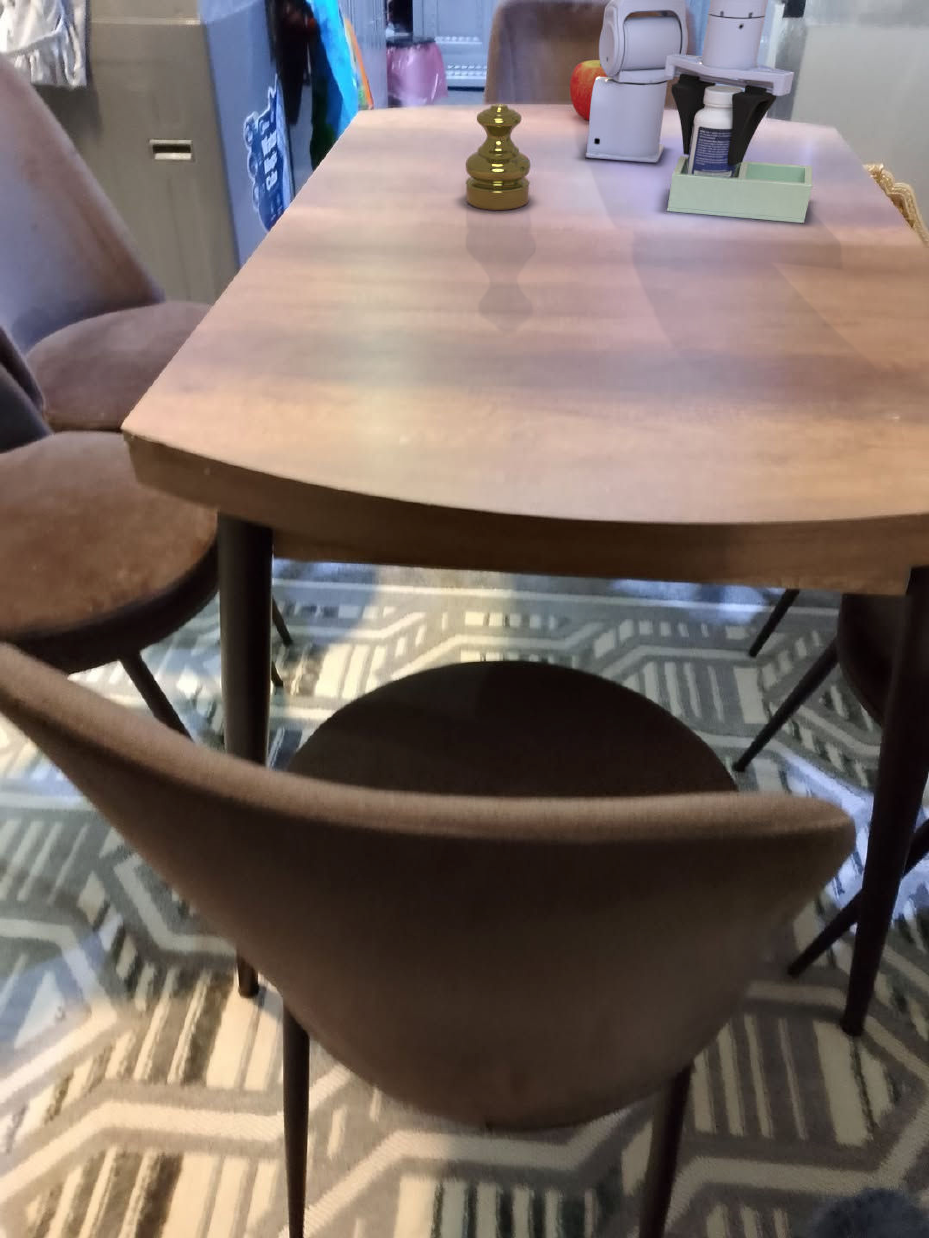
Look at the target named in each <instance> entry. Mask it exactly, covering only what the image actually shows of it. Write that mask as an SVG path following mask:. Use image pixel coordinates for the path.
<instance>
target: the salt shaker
mask: <svg viewBox="0 0 929 1238" xmlns="http://www.w3.org/2000/svg"><path fill="white" fill-rule="evenodd" d="M476 122H477V123H478V124H479V125H480V126H481V128H483V130H484V131H485V134H486V139H485V140H484V142H483V143H482V144H481V145H480V146H479V147H478V148H477V151H475V152H473V153H472V154H470V155H469V157H467V159H466V161H465V170H466V171H465V172H466V173H467V174H468V176H470V177H468V178H467V179H466V180H465V187H466V188H465V189H466V190H465V196H466V197H465V200H466V201H467V203H468V204H469V205H471V206H472V207H475V208H478V209H482V210H488V211H508V210H513V209H517V208H521V207H523V206H524V205H526V204H527V203H528V201H529V196H530V195H529V194H530V193H529V192H530V190H529V189H530V184H531V182H530V181H529V179H528V178H526V177H527V176H528V174H529V173H530V171H531V161H530V159H529V158H528V156H526V155H525V154H524V153H522V152H521V151H520V149H519V147H518V146H516V144H515V143H514V142H513V141H512V139H511V135H512V132H513V131H514V129H515V128H516V127H517V126H518V125H519V124H521V122H522V115H521V113H520V112H517V111H516V110H515V109H513V108H510V107H509V106H508V105H507V104H506V103H493V104H492V105H491V106H490V107H488V108H485V109H483V110H482V111H480V112H479V113H478V114H476Z"/></svg>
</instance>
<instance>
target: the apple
mask: <svg viewBox="0 0 929 1238" xmlns="http://www.w3.org/2000/svg"><path fill="white" fill-rule="evenodd" d="M597 77H608V76H606V74H605V72H604V70H603V69H602V67H601V64H600V59H597V60H596V59H593V60H586V61H582V62H580V63H579V64H577V65H576V66H575V67H574V69H573V71H572V73H571V78H570V84H569V95H570V99H571V104H572V106H573V108H574V110H575V112H576V114H577V115H578V116H579V117H580V118H582V119H583V120H586V121H589V119H590V107H591V98H592V91H593V86H594V82H595V80H596V78H597Z"/></svg>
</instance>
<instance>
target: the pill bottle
mask: <svg viewBox="0 0 929 1238" xmlns="http://www.w3.org/2000/svg"><path fill="white" fill-rule="evenodd" d="M739 92H744V90H743V88H740V87H734V86H729V85H715V86H710V87H707V88H706V89H705V94H704V99H703V100H704V101H703V103H704V104H705V107H704V109H701V110H699V111H698V112H697V113H696V115H695V118H694V123H693V130H692V136H691V143H690V149H689V155H687V157H688V163H687V169H686V174H696V175H709V176H722V177H734V174H735V169H736V165H729V164H727V162H728V151H729V145H730V140H731V134H732V121H733V107H732V95H733V94H735V93H739Z"/></svg>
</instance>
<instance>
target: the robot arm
mask: <svg viewBox="0 0 929 1238" xmlns="http://www.w3.org/2000/svg"><path fill="white" fill-rule="evenodd" d="M768 2H769V0H709V7H708V13H707V21H706V26H705V27H706V28H705V34H704V40H703V47H702V53H701V55H690V54H687V52H688V46H689V45H688V44H689V31H688V28H687V27H688V26H687V3H686V1H685V0H609V2H608V3H607V4H606V6H605V7H604V12H603V22H602V26H601V27H602V28H601V32H600V36H599V41H598V43H599V44H598V57H599V60H600V64H601V67H602V69H603V70H604V72H605V74H606V76H608V77H597V78H596V80H595V82H594V86H593V91H592V98H591V107H590V119H589V120H588V130H587V145H586V153H585V158H589V159H603V160H612V161H613V160H614V161H615V160H616V161H627V162H638V163H639V162H640V163H654V164H657V163H658V162H659V160H660V158H661V156H662V153H663V152H664V150H665V144H663V143H661V134H662V126H663V119H664V112H665V111H664V110H665V104H666V96H667V89H668V81H671V80H674V77H677V78H678V80H677V82H676V83H673V84H672V85H671V88H670V90H671V94H672V97H673V100H674V102H675V106H676V109H677V113H678V118H679V121H680V122H679V123H680V129H681V137H682V154H683V155H686V156H689V149H690V143H691V136H692V130H693V123H694V118H695V115H696V113H697V112H698V111H699V110H701V109H704V107H705V104H704V103H703V101H704V100H703V99H704V94H705V89H706V88H707V87H710V86H716V84H718V85H722V86H732V87H738V88H741V89H744V90H743V92H739V93H735V94H733V95H732V107H733V121H732V134H731V140H730V145H729V151H728V162H727V164H729V165H736V164H738V163H741V162H742V161H744V160H745V159H744V158H745V156H746V153H747V151H748V148H749V146H750V144H751V141H752V139H753V137H754V135H755V133H756V131H757V129H758V127H759V126H760V124H761V122H762V120H763V119H764V117H765V116H766V114H767V113H768V111H769V109H770V108H771V107H772V105H773V104H774V103H775V101H776V100H777V97H783V96H786V95H789V94H791V90H792V85H793V81H794V76H795V72H794V71H787V70H784V69H780V68H775V67H771V66H770V65H769V66H768V65H765V64H761V63H757V62H758V58H759V57H758V56H759V51H760V46H761V42H762V41H761V40H762V35H763V29H764V24H765V19H766V13H767V7H768V4H769V3H768ZM631 13H657V14H659V15H654V16H631V17H630V16H629V15H630V14H631Z"/></svg>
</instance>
